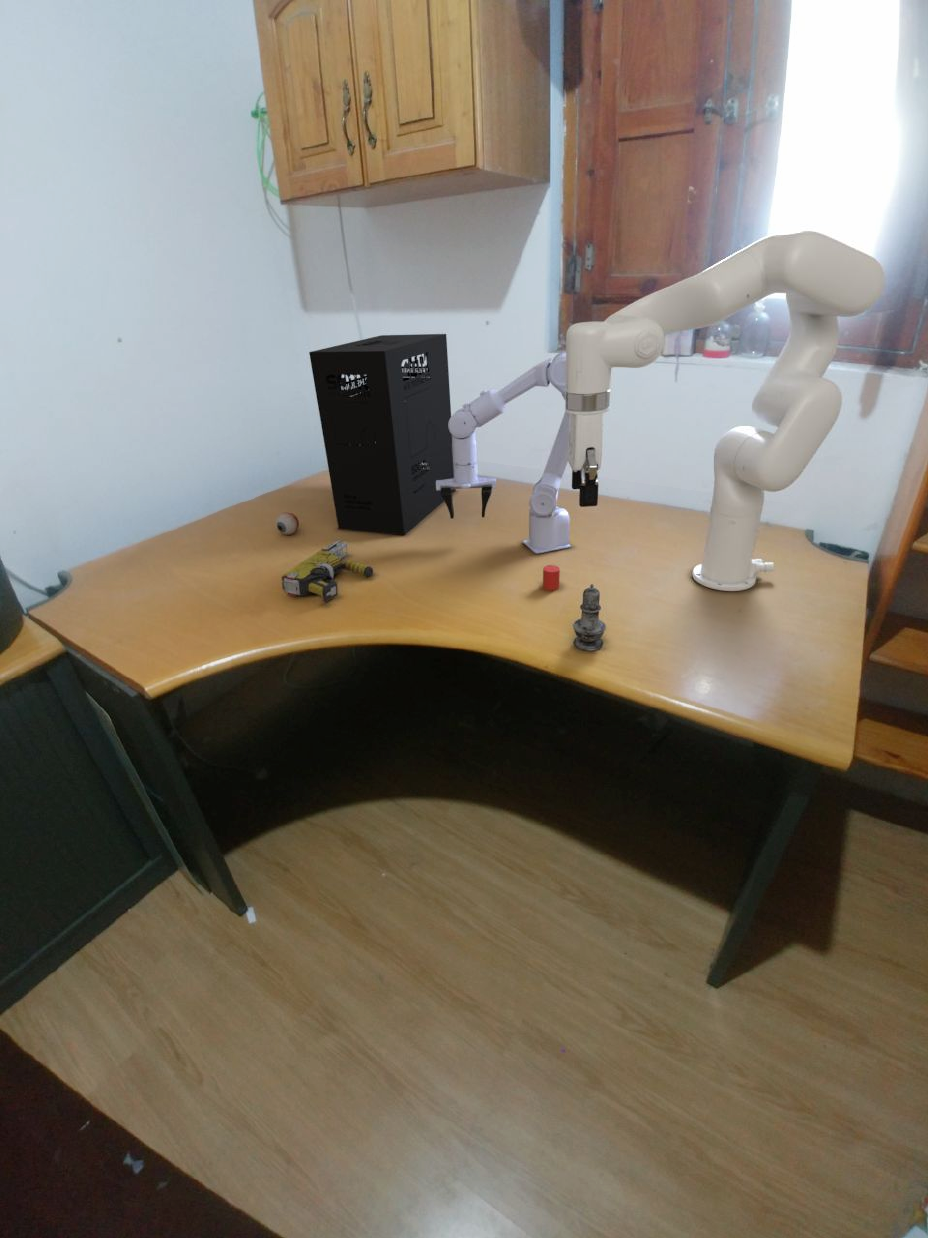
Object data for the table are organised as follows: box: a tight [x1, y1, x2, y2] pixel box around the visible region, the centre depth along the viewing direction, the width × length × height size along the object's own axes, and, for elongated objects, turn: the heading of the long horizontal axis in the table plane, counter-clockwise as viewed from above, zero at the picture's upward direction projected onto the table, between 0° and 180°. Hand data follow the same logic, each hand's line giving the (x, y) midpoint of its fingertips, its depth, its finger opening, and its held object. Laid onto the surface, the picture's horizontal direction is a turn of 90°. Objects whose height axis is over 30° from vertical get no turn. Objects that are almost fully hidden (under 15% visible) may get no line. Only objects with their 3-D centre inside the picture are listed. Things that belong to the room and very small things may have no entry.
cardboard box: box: [308, 333, 457, 536], centre depth 167 cm, size 38×20×45 cm, turn 160°
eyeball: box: [275, 511, 300, 536], centre depth 163 cm, size 6×6×6 cm
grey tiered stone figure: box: [572, 583, 607, 652], centre depth 107 cm, size 6×6×12 cm
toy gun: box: [281, 539, 374, 603], centre depth 138 cm, size 5×24×15 cm
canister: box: [542, 564, 561, 591], centre depth 129 cm, size 4×4×4 cm
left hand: (467, 516), depth 150 cm, fingers open, 7 cm apart
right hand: (584, 496), depth 113 cm, fingers open, 9 cm apart
